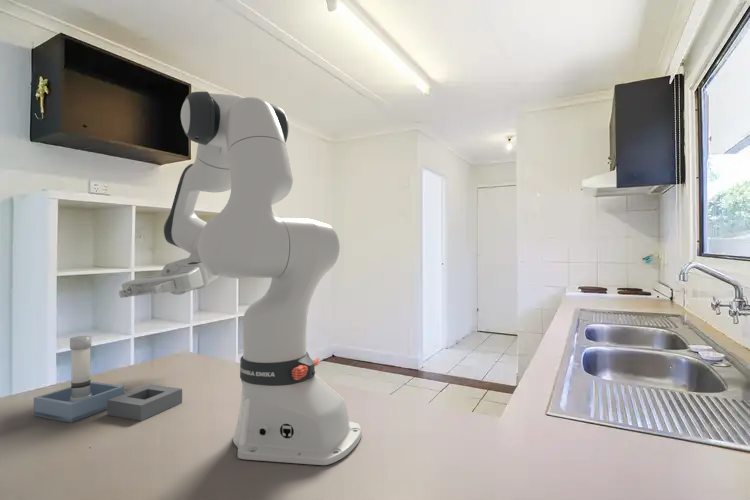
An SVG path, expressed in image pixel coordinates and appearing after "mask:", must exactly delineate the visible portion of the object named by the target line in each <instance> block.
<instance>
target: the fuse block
mask: <svg viewBox="0 0 750 500" xmlns="http://www.w3.org/2000/svg"><path fill="white" fill-rule="evenodd" d="M182 403H183V388H179V387H172V386H166V385H165V386H164V385H159V384H158V385H157V384H152V383H151V384H148V385H145V386H143V387H139V388H137V389H134V390H131V391H128V392H125V393H124V394H123V395H120V396H117V397H115V398H112V399H109V400H108V409H107V415H108V416H111V417H117V418H123V419H129V420H134V421H138V422H143V421H145V420H147V419H149V418H151V417H154V416H155V415H158V414H160V413H162V412H164V411H167V410H169V409H171V408H174V407H176V406H177V405H178V406H179V405H180V404H182Z"/></svg>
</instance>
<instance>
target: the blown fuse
mask: <svg viewBox="0 0 750 500" xmlns="http://www.w3.org/2000/svg"><path fill="white" fill-rule="evenodd" d="M91 347H92V336H91V335H78V336H73V337H71V338H69V349H70V351H71V354H70V356H71V357H70V358H71V359H70V360H71V361H70V363H71V364H70V366H71V369H70V370H71V374H70V375H71V382H70V387H71V390H72V396H71V397H70V402H72V403H73V402H76V401H79V400H82V399H85V398H88V397H91V396H92V393H91V391H90V385H91V382H92V379H91Z"/></svg>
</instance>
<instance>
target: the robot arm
mask: <svg viewBox="0 0 750 500" xmlns="http://www.w3.org/2000/svg"><path fill="white" fill-rule="evenodd" d="M184 98H185V99H184V101H183V103H182V106H181V110H180V121H181V126H182V129H183V132H184V134H185V136H186V137H187V138H188V139H189V140H190V141H191V142H194V143H197V148H196V155H195V160H194V162H193V163H191V164H188V165H187V166H186V167H185V168H184V169H183V170H182V173H181V175H180V178H179V180H178V184H177V188H176V191H175V194H174V198H173V202H172V205H171V210H170V212H169V215H168V216H167V218H166V221H165V223H164V225H163V234H164V235H163V236H164V238H165V240H166V242H167V243H168V244H171V245H172V246H175V247H177V248H179V249H182V250H184V251H186V252H187V253H189V254H190V255H189V257H187V258H186V257H185V258H180V259H179V260H175V261H172V262H169V263H167V264H165V265H164V266H163V267H162V269H161V273H160V274H156V275H155V274H154V275H148V276H143V277H139V278H135V279H132V280H128V281H125V282H123V283H122V285H121V289H120V290H119V291H118V295H119V298H121V299H124V298H129V297H137V296H146V295H159V294H162V293H163V294H164V293H170V294H172V295H175V296H180V295H185V294H186V293H190V292H192V291H195V290H197V289H203V288H206V287H208V286H209V285H210V283H212V282H214V281H216V280H217V279H218V278H220V277H222V278H223V277H224V278H228V279H236V280H247V279H248V280H249V279H250V280H251V279H252V280H253V279H271V282H270V284H269V288H268V290H267V291H266V293H265V294H264V295H263V296H262V297H260V298H259V299H257V300H256V301H254V302H252V303H251V304H250V305H249V306H248V307H247V309H246V310H245V312H244V315H243V316H242V356H241V357H240V362H239V364H240V365H239V378H240V379H241V395H240V405H239V413H238V417H237V423H236V427H235V431H234V434H233V436H232V441H233V442H232V443H233V444H234V445H235V446H236V448H237V458H238V459H240V460H249V461H264V462H275V463H289V464H290V463H291V464H302V465H303V464H304V465H317V466H327V465H328V466H329V465H331V464H333V463H336V462H339V460H341V459H343V458H345V457H346V456H348V455H349V454H350V453H351V452H352V451H353V450H354V449H355V448H356V446H357V445H358V443H359V442H360V440H361V438H362V427H361V425H360V424H359V423H358V422H353V421H350V420H349V412H348V407H347V403H346V400H345V399H344V397H342V395H340V394H339V393H338V392H336V391H335V390H334V389H333V388H331V386H329V384H327V383H326V382H325V381H324V380H323V379H322V378H320V377H319V376H318V375H317V374H316V370H315V368H316V367H317V366H318V365H320V362H319V361H320V358H319V357H318V358H315V359H314V360H313V359H312V358H311V357H310V355H309V353H308V351H307V329H308V326H307V325H308V316H309V315H308V313H309V307H310V304H311V301H312V297H313V295H314V292H315V291H316V289H317V286H318V285H319V283H320V281H321V280H322V279H323V277H324V276H325V275H326V274H327V273H328V272H329V271H330V270H331V269H332V268H334V266H335V264H336V262H337V260H338V258H339V255H340V250H341V249H340V248H341V247H340V241H339V239H340V238H339V237H338V234H337V233H336V231H335V229H334V227H333V226H331V225H330V224H328V223H325V222H322V221H319V220H316V219H312V218H307V217H305V218H304V217H291V216H290V217H288V216H277V215H275V214H274V213H273V211H272V210H273V208H272V206H273V205H275V204H277V203H279V202H281V201H282V200H283V199H285V198H286V197H287V196H288V195H289V193H290V192H291V190H292V187H293V183H294V179H293V174H292V169H291V163H290V159H289V153H288V149H287V144H286V142H287V140H288V136H289V121H288V117H287V114H286V112H285V111H284V110H283V109H282V108H281V107H279V106H277V105H274V104H272V103H268V102H267V101H265V100H264V99H261V98H258V97H254V96H248V97H241V96H238V95H232V94H224V93H223V94H222V93H209V92H208V91H191V93H189V94H188V95H187V96H186V97H184ZM227 191H230V194H229V198H228V200H227V203H226V204H225V206H223V208H222V210H221V211H220V212H219V213H218V214H217V215H215V216H213V217H211V219H210V220H208V221H205V220H203V219H201V218H200V217H198V215H197V214H196V213H195V211H194V210H195V207H196V204H197V200H198V197H199V194H200V193H201V192H204V193H205V192H206V193H213V194H214V193H223V192H227Z"/></svg>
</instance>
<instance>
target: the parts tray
mask: <svg viewBox="0 0 750 500" xmlns="http://www.w3.org/2000/svg"><path fill="white" fill-rule="evenodd" d="M90 391H91V393H92V396H91V397H88V398H85V399H82V400H79V401H76V402H73V403H72V402H70V397H71V396H72V390H71V386H67V387H65V388H61V389H58V390H55V391H52V392H48V393H45V394H42V395H38V396H35V397H33V416H34V417H40V418H45V419H50V420H56V421H59V422H60V421H61V422H64V423H71V424H72V423H75V422H78V421H80V420H83V419H85V418H87V417H90V416H93V415H95V414H99V413H101V412H103V411H105V410H108V400H109V399H112V398H115V397H117V396H120V395H123V394H125V386H123V385H117V384H111V383H110V384H109V383H104V382H98V381H91V385H90Z"/></svg>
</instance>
